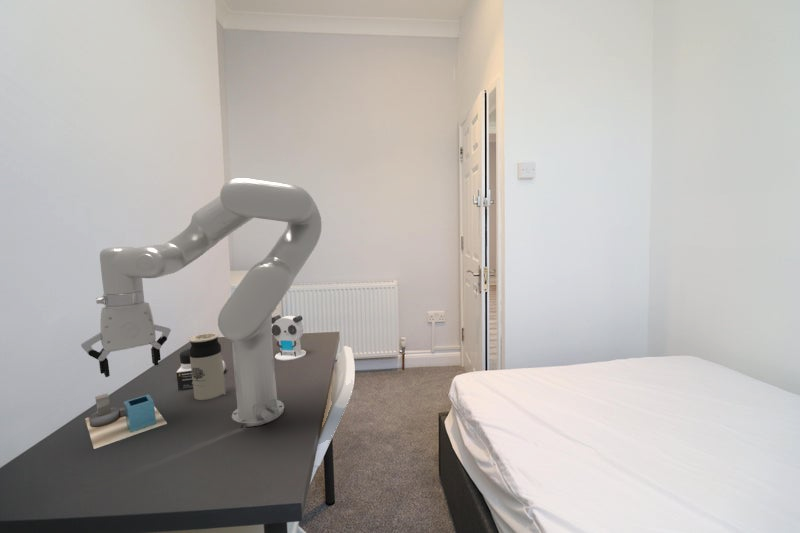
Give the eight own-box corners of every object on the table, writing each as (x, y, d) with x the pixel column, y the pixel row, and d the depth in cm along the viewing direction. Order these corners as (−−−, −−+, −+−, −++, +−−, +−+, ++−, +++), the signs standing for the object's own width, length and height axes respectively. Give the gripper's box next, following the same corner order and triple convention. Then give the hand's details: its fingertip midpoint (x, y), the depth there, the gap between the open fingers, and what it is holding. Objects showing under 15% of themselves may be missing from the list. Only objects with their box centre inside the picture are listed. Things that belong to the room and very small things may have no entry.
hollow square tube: (156, 423, 91) (153, 400, 91) (130, 432, 88) (127, 408, 87) (151, 416, 95) (148, 394, 94) (126, 424, 91) (123, 401, 91)
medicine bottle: (178, 394, 110) (174, 355, 109) (185, 385, 117) (181, 348, 116) (205, 390, 112) (200, 352, 111) (210, 381, 119) (206, 345, 118)
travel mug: (215, 389, 113) (209, 331, 111) (231, 394, 109) (225, 334, 107) (189, 400, 106) (182, 338, 104) (205, 406, 102) (198, 342, 100)
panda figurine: (267, 359, 137) (263, 319, 136) (285, 349, 148) (282, 312, 147) (295, 361, 134) (292, 320, 132) (311, 350, 145) (308, 313, 143)
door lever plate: (167, 427, 91) (164, 397, 90) (94, 454, 82) (89, 420, 81) (149, 403, 106) (146, 376, 105) (85, 422, 96) (81, 394, 95)
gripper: (78, 307, 79) (87, 385, 81) (170, 296, 91) (176, 363, 93) (75, 303, 85) (83, 376, 86) (163, 292, 97) (169, 356, 98)
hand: (132, 369), depth 90 cm, fingers open, 9 cm apart
